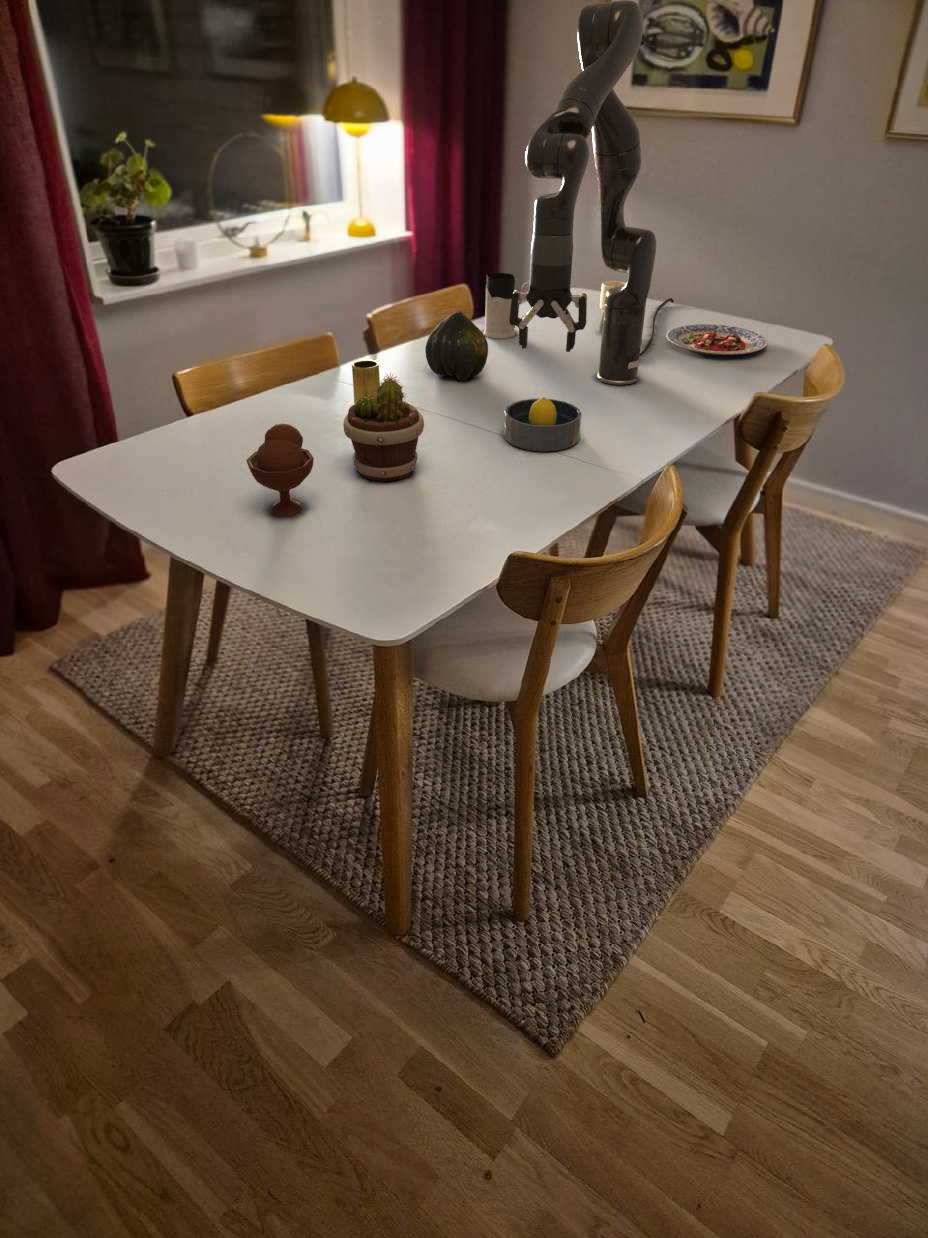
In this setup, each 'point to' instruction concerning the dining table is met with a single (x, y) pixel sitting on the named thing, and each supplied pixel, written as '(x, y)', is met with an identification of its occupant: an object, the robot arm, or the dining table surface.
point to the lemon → (542, 413)
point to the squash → (457, 348)
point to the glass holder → (499, 305)
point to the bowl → (542, 427)
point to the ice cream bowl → (282, 466)
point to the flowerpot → (384, 433)
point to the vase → (365, 378)
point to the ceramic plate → (717, 339)
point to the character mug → (604, 289)
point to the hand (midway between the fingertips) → (546, 349)
